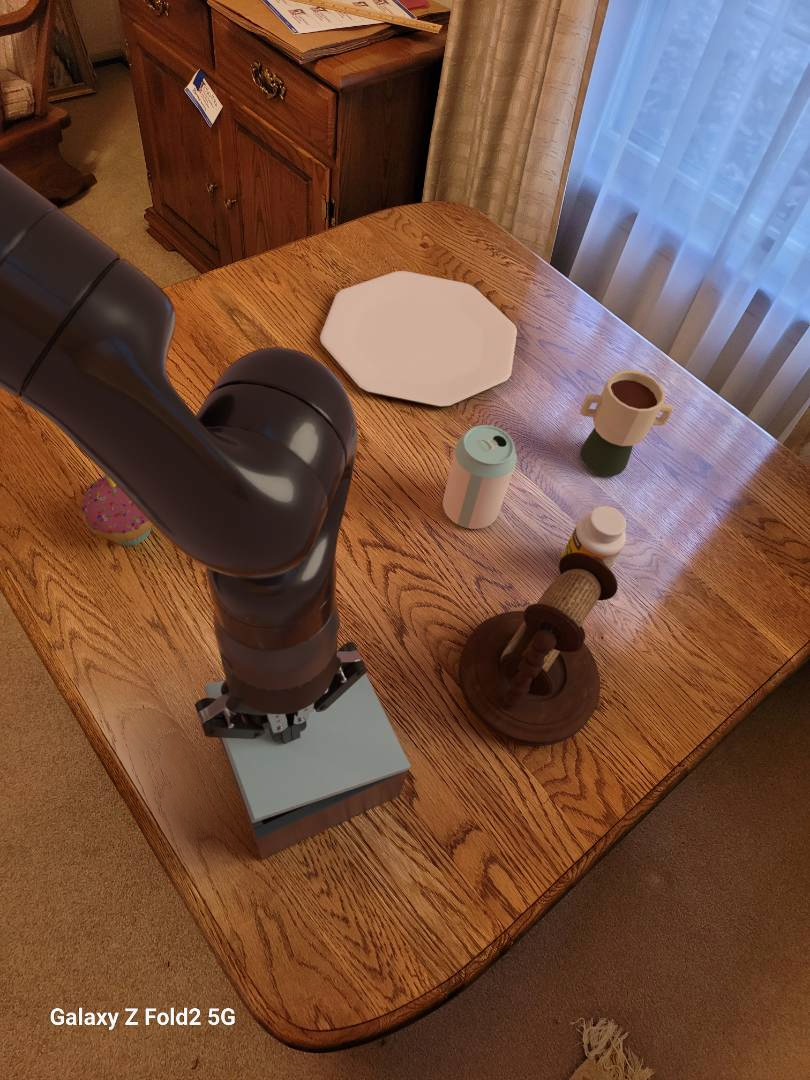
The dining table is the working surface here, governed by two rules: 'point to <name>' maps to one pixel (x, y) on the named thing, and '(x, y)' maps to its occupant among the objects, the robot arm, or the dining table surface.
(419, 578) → the dining table surface
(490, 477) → the can
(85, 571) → the dining table surface
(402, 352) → the plate
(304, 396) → the robot arm
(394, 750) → the grey-topped wooden block
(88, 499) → the cupcake
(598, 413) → the trophy cup
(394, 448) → the dining table surface
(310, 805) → the open box
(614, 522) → the supplement bottle
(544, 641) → the wooden spool stand
